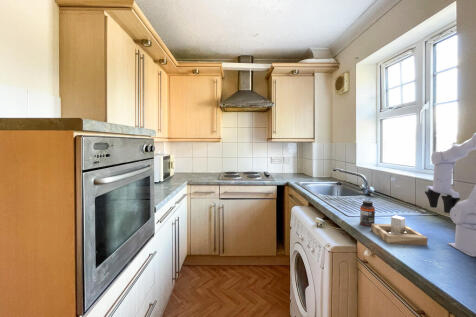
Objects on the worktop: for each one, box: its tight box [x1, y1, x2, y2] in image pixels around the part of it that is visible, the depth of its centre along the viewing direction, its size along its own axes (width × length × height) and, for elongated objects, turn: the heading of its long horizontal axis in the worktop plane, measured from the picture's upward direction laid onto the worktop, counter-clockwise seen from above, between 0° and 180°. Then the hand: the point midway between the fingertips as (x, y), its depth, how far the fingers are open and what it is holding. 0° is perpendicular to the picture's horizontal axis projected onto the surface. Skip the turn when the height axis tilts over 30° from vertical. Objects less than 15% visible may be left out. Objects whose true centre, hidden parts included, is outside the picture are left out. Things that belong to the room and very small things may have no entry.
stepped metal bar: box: [389, 215, 406, 234], centre depth 89 cm, size 4×7×8 cm, turn 120°
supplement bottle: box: [359, 199, 376, 227], centre depth 103 cm, size 6×6×11 cm
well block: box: [370, 223, 428, 246], centre depth 89 cm, size 13×14×3 cm
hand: (440, 210), depth 94 cm, fingers open, 7 cm apart
